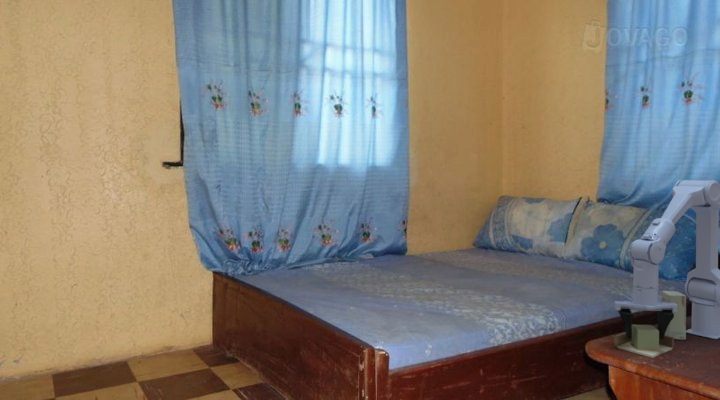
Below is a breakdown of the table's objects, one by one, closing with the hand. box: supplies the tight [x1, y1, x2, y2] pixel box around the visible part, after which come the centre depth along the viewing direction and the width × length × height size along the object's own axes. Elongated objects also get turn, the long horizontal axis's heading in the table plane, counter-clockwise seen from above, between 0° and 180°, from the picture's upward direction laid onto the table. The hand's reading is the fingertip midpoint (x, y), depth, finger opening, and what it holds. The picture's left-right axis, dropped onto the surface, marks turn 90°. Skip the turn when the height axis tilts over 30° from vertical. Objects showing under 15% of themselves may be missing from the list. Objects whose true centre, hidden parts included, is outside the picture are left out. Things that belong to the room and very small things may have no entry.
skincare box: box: [661, 290, 687, 341], centre depth 149 cm, size 6×4×12 cm
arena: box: [613, 331, 675, 358], centre depth 140 cm, size 11×10×3 cm
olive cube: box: [631, 324, 659, 350], centre depth 140 cm, size 5×5×5 cm
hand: (644, 337), depth 140 cm, fingers open, 7 cm apart
